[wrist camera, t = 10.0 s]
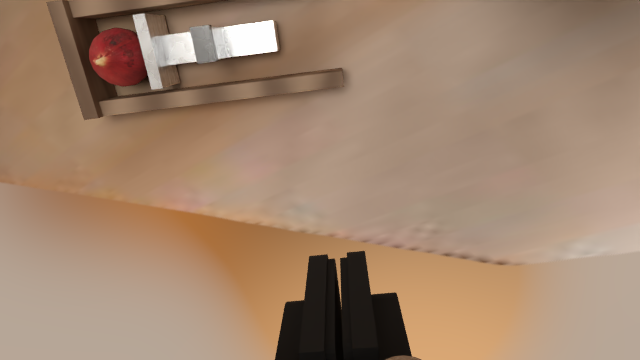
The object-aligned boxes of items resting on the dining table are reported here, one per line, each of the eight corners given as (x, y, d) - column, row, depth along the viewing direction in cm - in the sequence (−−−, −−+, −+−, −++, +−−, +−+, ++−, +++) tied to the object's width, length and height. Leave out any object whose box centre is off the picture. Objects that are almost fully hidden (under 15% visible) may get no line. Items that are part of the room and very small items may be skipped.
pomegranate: (125, 17, 45) (83, 14, 37) (171, 48, 46) (139, 51, 38) (104, 63, 46) (59, 68, 39) (149, 92, 47) (114, 102, 40)
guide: (331, -32, 42) (330, -40, 38) (343, 82, 46) (344, 87, 42) (76, 5, 44) (46, 2, 40) (108, 111, 48) (84, 119, 44)
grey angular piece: (272, 0, 43) (260, -7, 36) (283, 69, 46) (273, 76, 38) (153, 17, 44) (116, 13, 37) (170, 84, 47) (138, 93, 39)
